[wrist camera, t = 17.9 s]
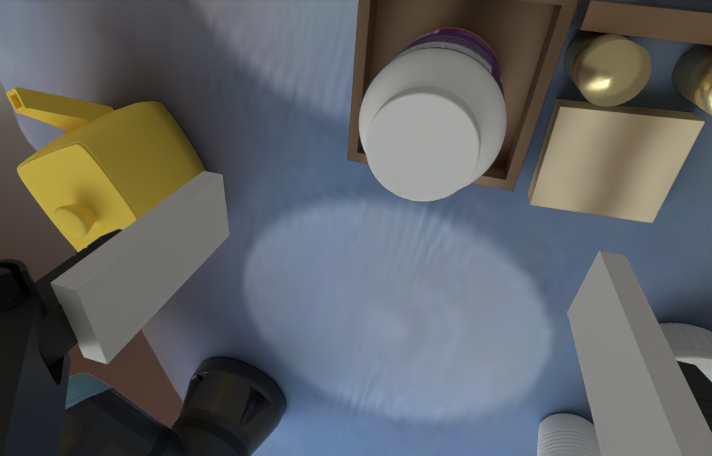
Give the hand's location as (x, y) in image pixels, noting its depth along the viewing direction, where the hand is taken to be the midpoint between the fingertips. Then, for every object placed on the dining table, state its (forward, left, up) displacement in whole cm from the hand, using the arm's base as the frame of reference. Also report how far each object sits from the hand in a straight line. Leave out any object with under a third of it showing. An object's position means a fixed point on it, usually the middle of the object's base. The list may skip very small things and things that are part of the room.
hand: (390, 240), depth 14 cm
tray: (0, +1, -22) cm, 22 cm away
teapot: (-29, -12, -22) cm, 38 cm away
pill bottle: (0, +1, -21) cm, 21 cm away
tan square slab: (+13, -3, -22) cm, 26 cm away
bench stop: (+13, +4, -22) cm, 26 cm away
